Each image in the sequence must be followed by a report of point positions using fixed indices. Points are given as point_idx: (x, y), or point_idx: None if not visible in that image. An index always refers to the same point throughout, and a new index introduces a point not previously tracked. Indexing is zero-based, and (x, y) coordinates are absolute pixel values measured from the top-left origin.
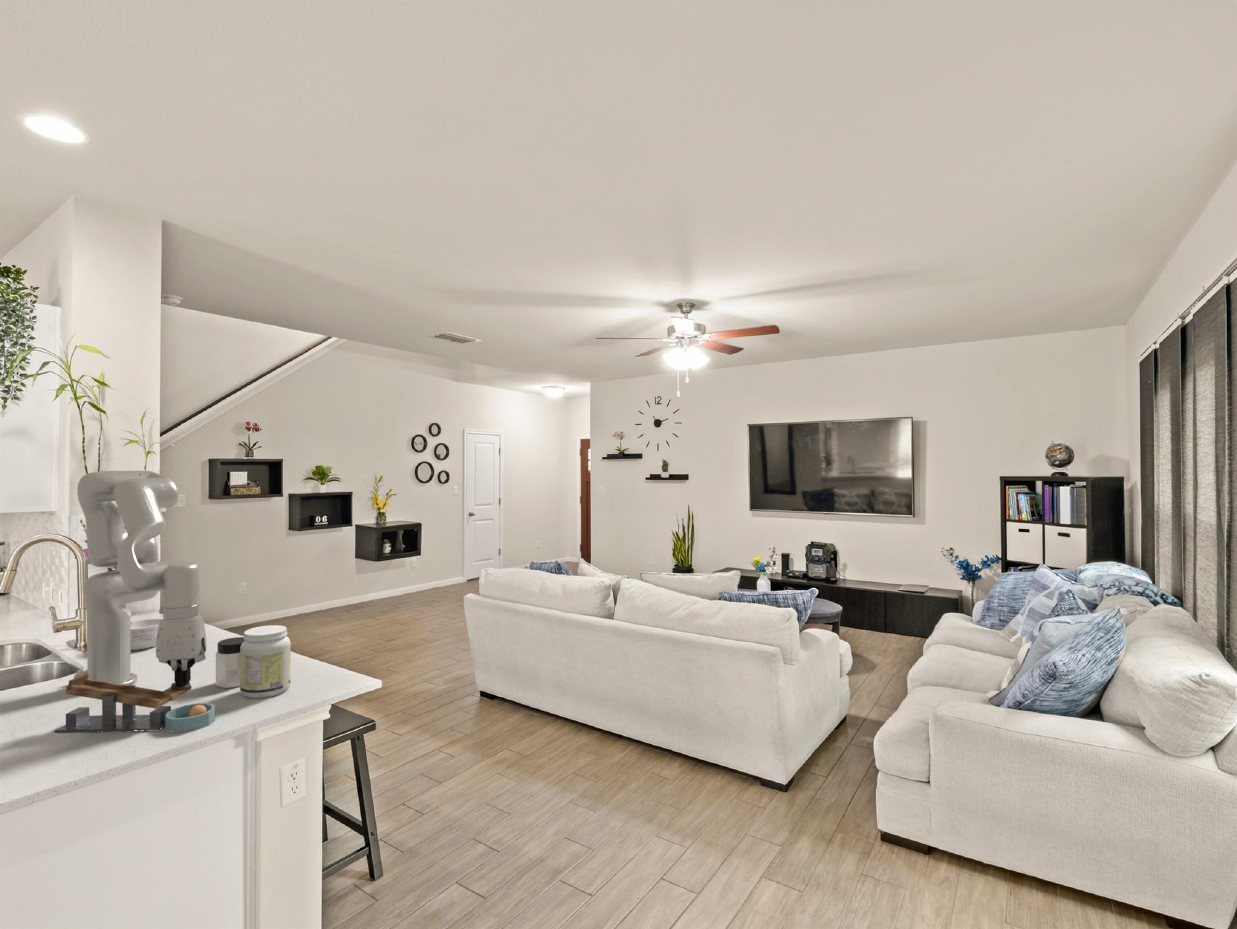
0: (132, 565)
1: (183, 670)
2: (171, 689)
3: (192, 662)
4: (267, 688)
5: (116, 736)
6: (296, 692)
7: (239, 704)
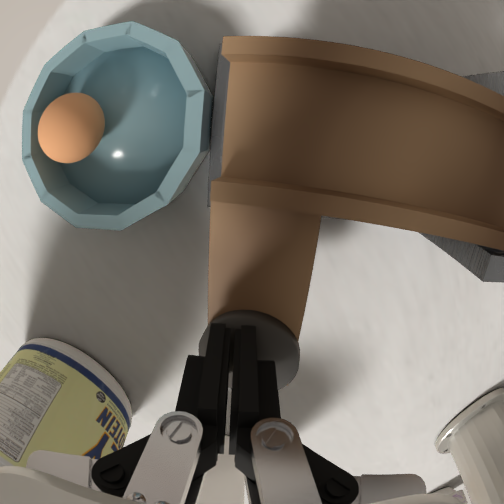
0: None
1: (188, 415)
2: (277, 308)
3: (106, 465)
4: (18, 352)
5: (366, 28)
6: (10, 354)
7: (68, 304)
